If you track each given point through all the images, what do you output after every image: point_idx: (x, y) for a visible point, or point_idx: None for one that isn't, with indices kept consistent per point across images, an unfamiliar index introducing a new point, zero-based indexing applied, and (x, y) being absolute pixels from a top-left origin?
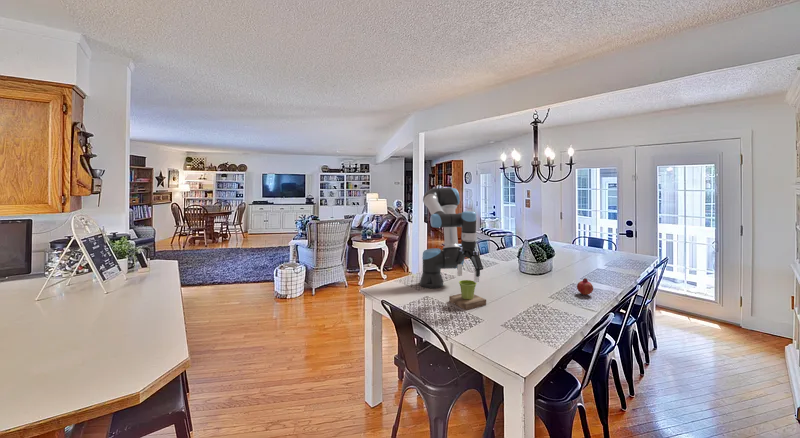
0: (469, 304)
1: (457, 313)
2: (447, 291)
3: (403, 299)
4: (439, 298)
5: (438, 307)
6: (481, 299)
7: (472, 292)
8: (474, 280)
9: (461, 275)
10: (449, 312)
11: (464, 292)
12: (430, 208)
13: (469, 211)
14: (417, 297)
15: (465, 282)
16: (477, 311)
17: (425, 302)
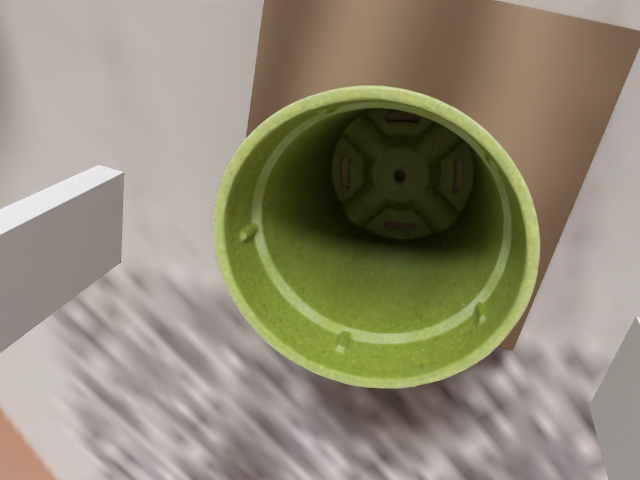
0: (528, 305)
1: (489, 419)
2: (24, 9)
3: (21, 429)
4: (141, 241)
5: (289, 406)
6: (580, 83)
7: (488, 220)
8: (606, 438)
9: (122, 186)
10: (423, 437)
11: (400, 289)
12: None
13: None
14: (32, 342)
15: (264, 153)
16: (626, 272)
17: (149, 385)
